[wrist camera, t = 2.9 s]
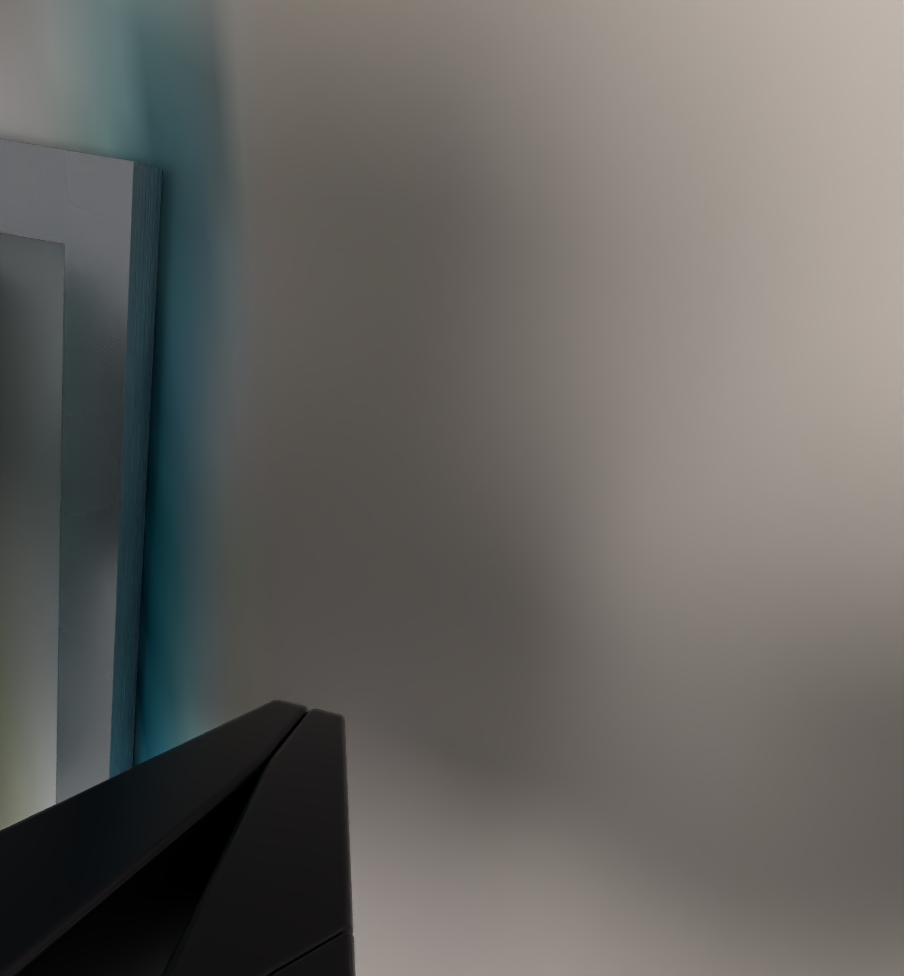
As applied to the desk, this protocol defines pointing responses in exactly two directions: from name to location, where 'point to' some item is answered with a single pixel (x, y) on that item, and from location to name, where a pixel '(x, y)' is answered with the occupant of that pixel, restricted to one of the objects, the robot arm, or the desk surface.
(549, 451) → the desk surface
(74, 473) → the gray metal rectangular frame
